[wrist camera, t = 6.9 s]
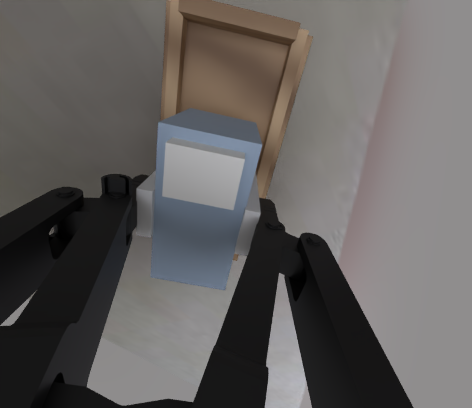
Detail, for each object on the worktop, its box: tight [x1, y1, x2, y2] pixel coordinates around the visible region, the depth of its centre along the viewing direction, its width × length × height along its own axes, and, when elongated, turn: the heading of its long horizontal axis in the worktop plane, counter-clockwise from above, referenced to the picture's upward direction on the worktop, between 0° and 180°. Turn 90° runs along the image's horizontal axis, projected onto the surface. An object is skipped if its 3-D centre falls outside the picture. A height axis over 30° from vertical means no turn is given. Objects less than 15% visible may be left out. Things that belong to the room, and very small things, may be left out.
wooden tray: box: [160, 0, 313, 261], centre depth 23 cm, size 22×12×4 cm, turn 168°
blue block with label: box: [151, 108, 262, 290], centre depth 14 cm, size 9×4×8 cm, turn 168°
